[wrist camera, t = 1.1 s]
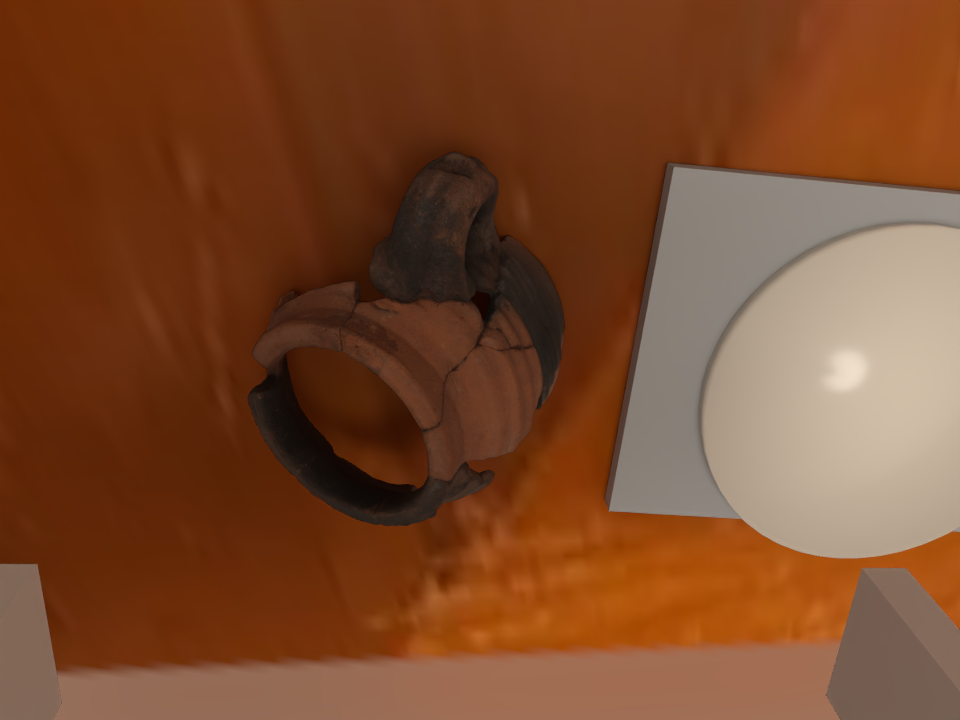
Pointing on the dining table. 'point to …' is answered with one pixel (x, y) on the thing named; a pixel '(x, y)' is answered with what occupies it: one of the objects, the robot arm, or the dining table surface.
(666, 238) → the felt placemat
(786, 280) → the cream round plate
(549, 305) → the broken terracotta ring
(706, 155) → the dining table surface
